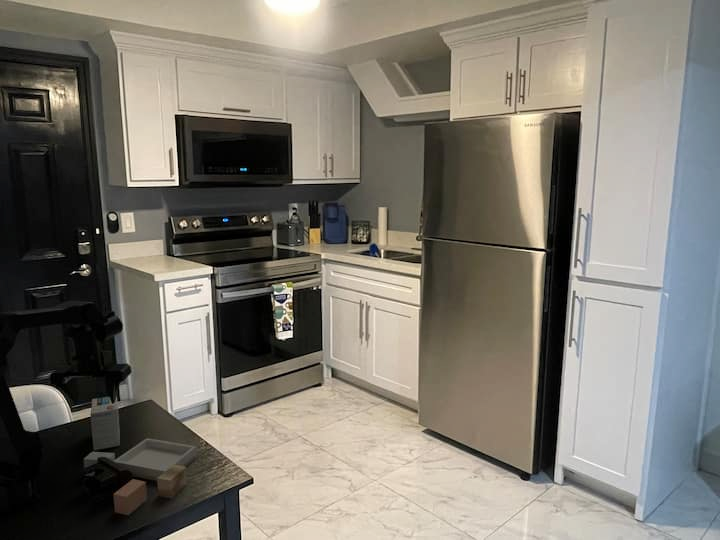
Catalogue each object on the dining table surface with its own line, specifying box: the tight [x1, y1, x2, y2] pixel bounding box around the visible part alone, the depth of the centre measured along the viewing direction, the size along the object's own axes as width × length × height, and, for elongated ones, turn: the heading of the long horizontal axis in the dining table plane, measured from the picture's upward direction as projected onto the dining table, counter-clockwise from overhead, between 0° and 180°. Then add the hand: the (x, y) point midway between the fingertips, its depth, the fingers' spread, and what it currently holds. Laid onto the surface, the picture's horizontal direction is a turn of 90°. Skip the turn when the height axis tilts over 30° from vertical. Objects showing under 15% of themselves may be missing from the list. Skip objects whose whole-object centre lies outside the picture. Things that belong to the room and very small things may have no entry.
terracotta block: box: [113, 478, 148, 516], centre depth 117 cm, size 6×4×4 cm, turn 163°
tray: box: [114, 438, 198, 482], centre depth 134 cm, size 12×15×3 cm
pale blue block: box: [83, 451, 116, 477], centre depth 130 cm, size 6×4×4 cm, turn 82°
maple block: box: [156, 465, 188, 499], centre depth 123 cm, size 6×4×4 cm, turn 162°
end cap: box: [81, 457, 134, 506], centre depth 122 cm, size 10×7×7 cm
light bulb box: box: [89, 395, 121, 451], centre depth 146 cm, size 11×7×11 cm, turn 25°
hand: (96, 403), depth 138 cm, fingers open, 9 cm apart
